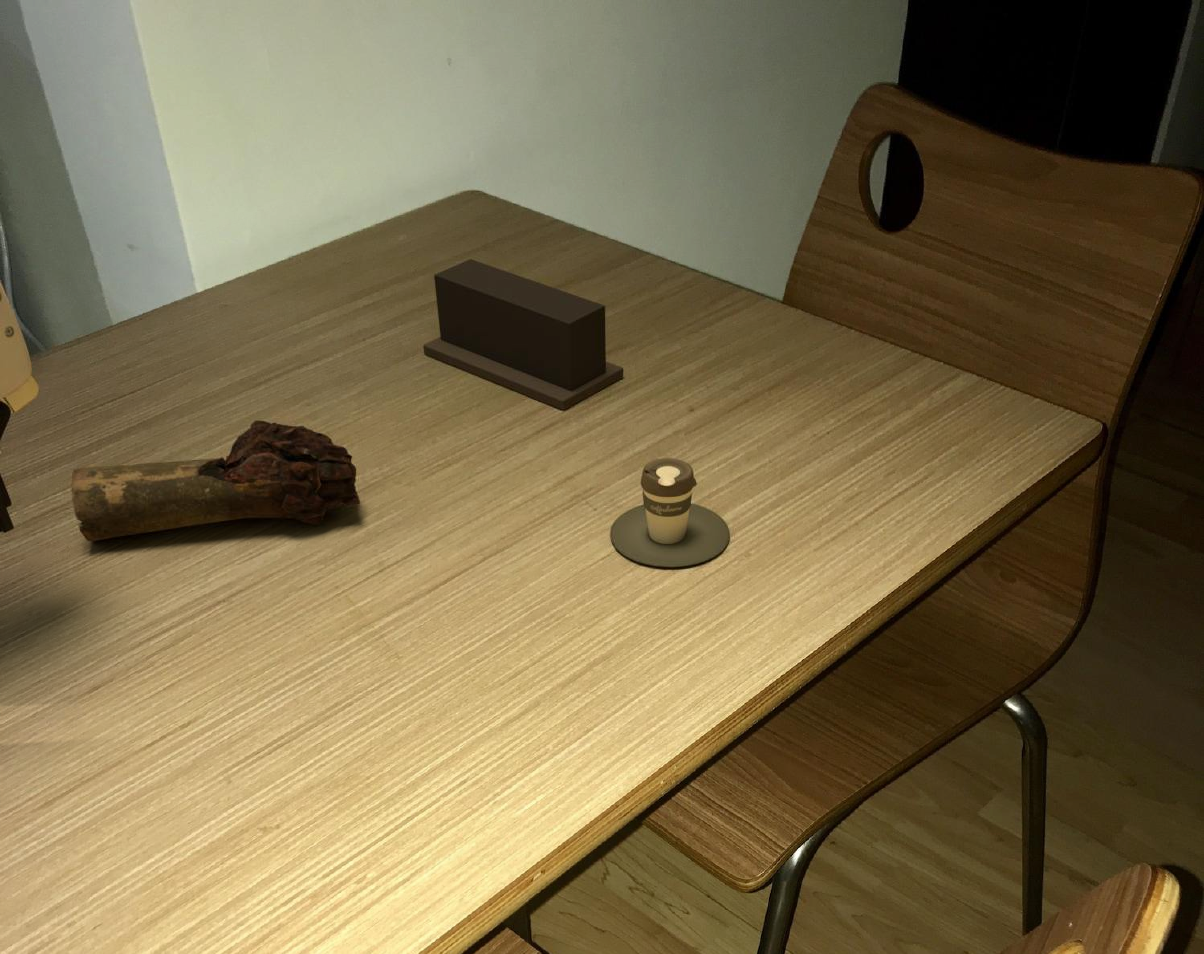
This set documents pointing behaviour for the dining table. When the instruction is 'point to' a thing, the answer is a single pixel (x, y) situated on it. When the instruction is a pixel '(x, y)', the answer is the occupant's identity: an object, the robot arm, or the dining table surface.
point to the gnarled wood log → (219, 485)
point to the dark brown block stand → (521, 334)
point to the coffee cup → (669, 521)
